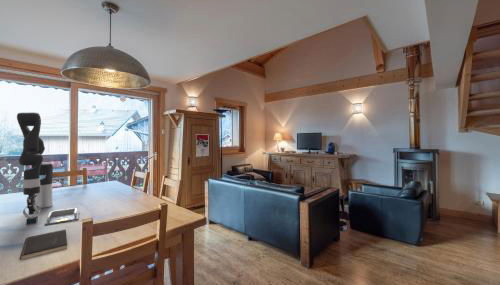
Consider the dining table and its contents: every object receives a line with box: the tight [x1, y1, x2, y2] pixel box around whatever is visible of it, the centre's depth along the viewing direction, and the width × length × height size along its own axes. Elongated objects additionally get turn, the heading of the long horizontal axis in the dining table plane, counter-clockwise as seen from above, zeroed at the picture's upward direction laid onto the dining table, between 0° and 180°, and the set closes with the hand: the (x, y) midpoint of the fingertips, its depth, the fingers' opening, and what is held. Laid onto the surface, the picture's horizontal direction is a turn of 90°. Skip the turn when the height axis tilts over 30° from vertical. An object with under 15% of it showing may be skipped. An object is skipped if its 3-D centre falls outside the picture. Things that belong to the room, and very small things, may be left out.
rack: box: [44, 207, 80, 226], centre depth 146 cm, size 18×16×4 cm
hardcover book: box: [19, 229, 68, 261], centre depth 111 cm, size 16×23×2 cm
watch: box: [22, 205, 42, 226], centre depth 139 cm, size 6×8×11 cm
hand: (32, 213), depth 139 cm, fingers closed on watch, 4 cm apart
